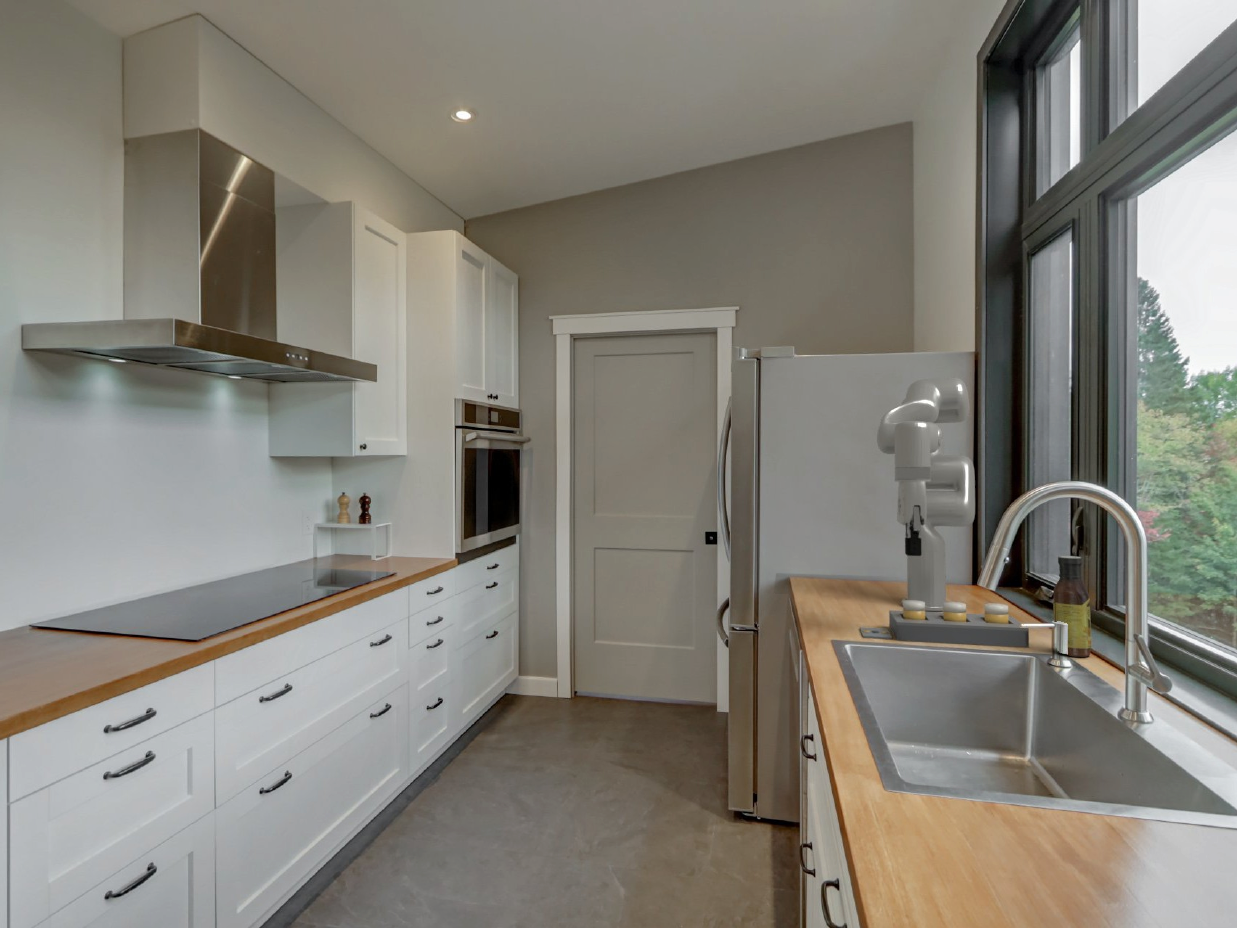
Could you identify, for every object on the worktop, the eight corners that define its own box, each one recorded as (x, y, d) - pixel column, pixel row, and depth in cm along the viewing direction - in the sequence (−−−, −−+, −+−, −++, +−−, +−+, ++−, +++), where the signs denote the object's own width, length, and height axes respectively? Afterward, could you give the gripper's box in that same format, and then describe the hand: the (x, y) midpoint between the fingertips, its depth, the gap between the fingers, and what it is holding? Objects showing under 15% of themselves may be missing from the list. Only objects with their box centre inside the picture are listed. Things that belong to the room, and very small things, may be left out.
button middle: (941, 624, 152) (941, 601, 152) (963, 625, 151) (963, 601, 151) (946, 629, 147) (945, 605, 147) (968, 631, 146) (968, 606, 146)
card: (859, 628, 157) (859, 626, 157) (886, 630, 155) (886, 627, 155) (863, 637, 149) (863, 635, 149) (891, 639, 148) (891, 636, 148)
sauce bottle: (1097, 658, 131) (1096, 559, 131) (1062, 657, 133) (1061, 558, 133) (1081, 649, 138) (1080, 554, 138) (1048, 648, 139) (1047, 554, 139)
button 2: (982, 626, 150) (982, 602, 150) (1004, 627, 148) (1004, 603, 148) (988, 631, 145) (987, 607, 145) (1011, 633, 144) (1011, 607, 144)
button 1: (901, 623, 154) (901, 599, 154) (923, 624, 153) (922, 600, 153) (905, 627, 149) (904, 603, 149) (927, 628, 148) (926, 604, 148)
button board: (889, 627, 158) (889, 610, 158) (1010, 633, 151) (1010, 615, 151) (897, 640, 146) (897, 622, 146) (1028, 647, 140) (1028, 628, 140)
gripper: (890, 475, 159) (890, 551, 159) (900, 475, 145) (900, 559, 144) (923, 474, 157) (924, 551, 157) (937, 475, 143) (938, 560, 143)
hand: (913, 555), depth 151 cm, fingers closed
